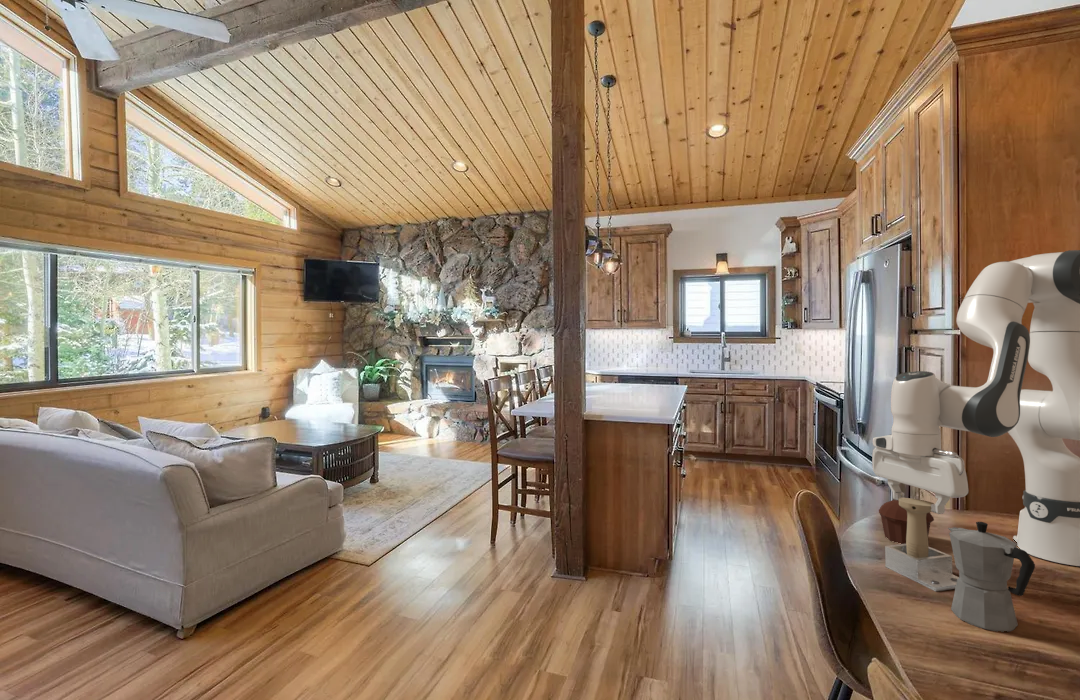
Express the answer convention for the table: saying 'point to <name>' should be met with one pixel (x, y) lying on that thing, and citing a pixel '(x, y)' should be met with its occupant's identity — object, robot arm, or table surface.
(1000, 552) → the coffeepot
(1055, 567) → the table surface
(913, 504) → the handle
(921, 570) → the flanged open box
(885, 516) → the muffin
